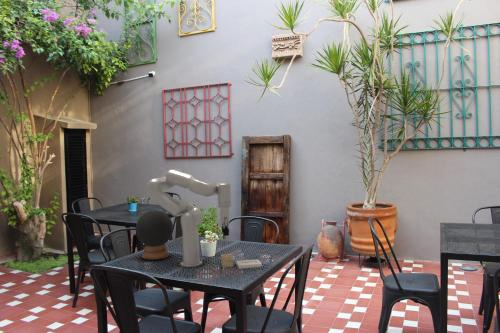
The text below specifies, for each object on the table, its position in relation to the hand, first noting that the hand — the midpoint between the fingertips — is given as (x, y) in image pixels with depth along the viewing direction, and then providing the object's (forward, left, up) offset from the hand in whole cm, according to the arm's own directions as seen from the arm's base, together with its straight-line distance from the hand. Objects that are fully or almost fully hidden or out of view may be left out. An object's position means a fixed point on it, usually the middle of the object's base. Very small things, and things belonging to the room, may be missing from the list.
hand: (225, 234), depth 255 cm
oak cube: (-2, +1, -19) cm, 19 cm away
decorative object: (-36, -40, -19) cm, 57 cm away
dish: (+2, +13, -19) cm, 23 cm away
